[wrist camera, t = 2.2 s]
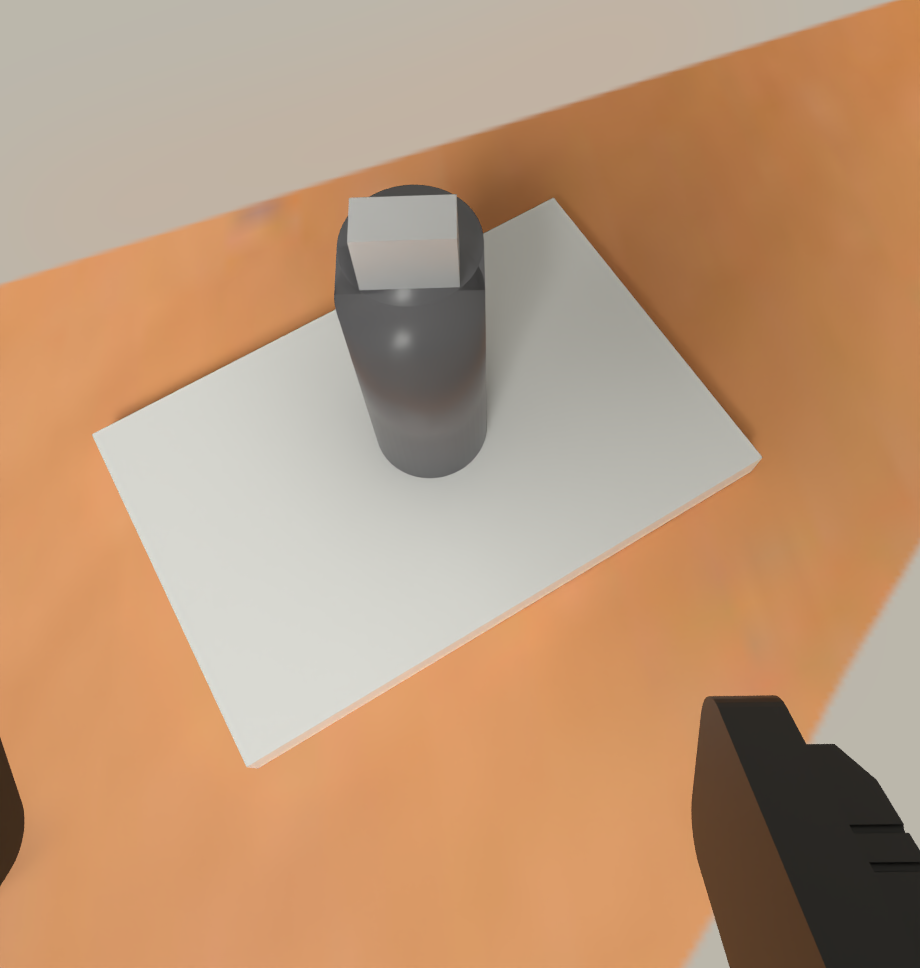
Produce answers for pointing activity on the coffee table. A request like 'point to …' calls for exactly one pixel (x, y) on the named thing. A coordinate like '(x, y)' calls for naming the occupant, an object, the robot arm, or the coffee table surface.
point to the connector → (416, 324)
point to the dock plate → (411, 489)
